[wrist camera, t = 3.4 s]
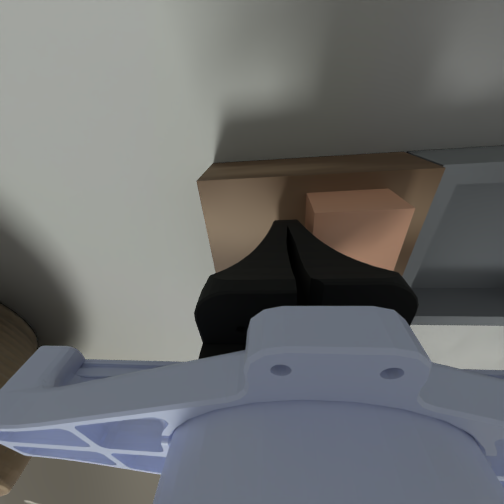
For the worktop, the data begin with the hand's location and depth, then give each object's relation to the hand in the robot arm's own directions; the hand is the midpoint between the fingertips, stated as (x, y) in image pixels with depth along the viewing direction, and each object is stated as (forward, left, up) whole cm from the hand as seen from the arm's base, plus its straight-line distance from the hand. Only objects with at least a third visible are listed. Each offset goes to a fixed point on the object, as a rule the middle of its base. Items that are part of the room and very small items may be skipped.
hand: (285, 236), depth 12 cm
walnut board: (-3, -1, -5) cm, 6 cm away
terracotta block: (0, -3, -1) cm, 3 cm away
